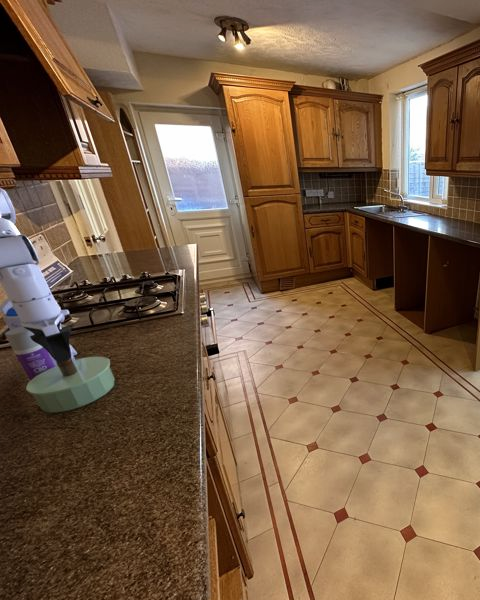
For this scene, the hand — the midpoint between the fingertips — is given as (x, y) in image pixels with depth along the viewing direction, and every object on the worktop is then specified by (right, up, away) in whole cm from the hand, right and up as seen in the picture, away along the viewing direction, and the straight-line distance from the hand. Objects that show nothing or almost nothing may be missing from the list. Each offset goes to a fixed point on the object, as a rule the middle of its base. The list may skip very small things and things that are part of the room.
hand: (60, 354), depth 70 cm
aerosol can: (-14, -6, +13) cm, 20 cm away
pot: (0, -10, +4) cm, 10 cm away
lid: (0, -5, +2) cm, 5 cm away
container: (-10, -9, +7) cm, 15 cm away
